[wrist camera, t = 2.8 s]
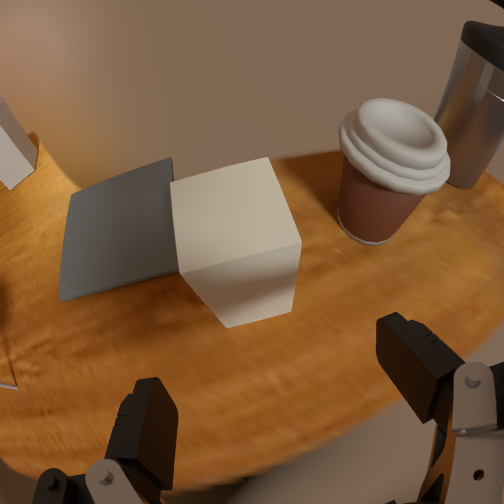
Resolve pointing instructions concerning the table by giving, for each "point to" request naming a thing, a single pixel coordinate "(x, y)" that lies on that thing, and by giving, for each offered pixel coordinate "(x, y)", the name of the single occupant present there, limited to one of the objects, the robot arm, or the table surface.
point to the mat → (119, 232)
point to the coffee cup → (387, 167)
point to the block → (237, 241)
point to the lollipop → (8, 386)
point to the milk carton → (14, 150)
